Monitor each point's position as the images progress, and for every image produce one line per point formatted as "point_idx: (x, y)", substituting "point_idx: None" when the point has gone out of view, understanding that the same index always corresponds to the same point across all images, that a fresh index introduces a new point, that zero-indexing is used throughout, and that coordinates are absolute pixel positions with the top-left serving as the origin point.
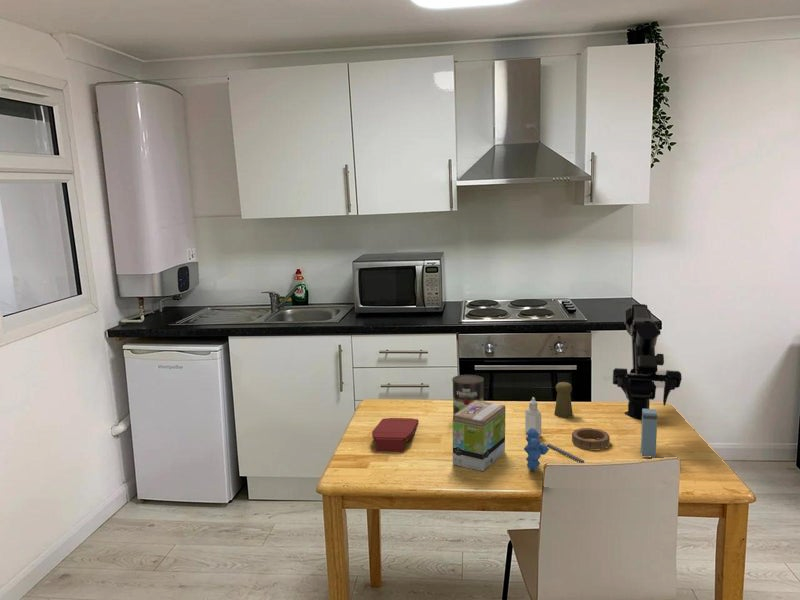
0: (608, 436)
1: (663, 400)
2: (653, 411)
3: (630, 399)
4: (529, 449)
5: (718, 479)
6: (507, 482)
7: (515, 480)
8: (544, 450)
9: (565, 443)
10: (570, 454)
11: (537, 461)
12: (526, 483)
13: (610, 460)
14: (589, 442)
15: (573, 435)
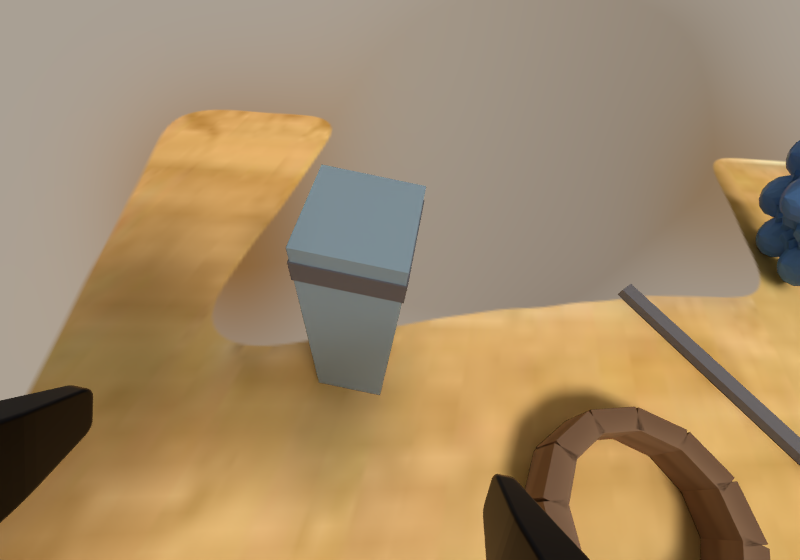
0: (549, 493)
1: (29, 455)
2: (332, 204)
3: (513, 494)
4: None
5: (193, 172)
6: None
7: None
8: (795, 180)
9: None
10: (685, 342)
11: (776, 181)
12: (741, 185)
13: (523, 310)
14: (639, 411)
15: (747, 505)
